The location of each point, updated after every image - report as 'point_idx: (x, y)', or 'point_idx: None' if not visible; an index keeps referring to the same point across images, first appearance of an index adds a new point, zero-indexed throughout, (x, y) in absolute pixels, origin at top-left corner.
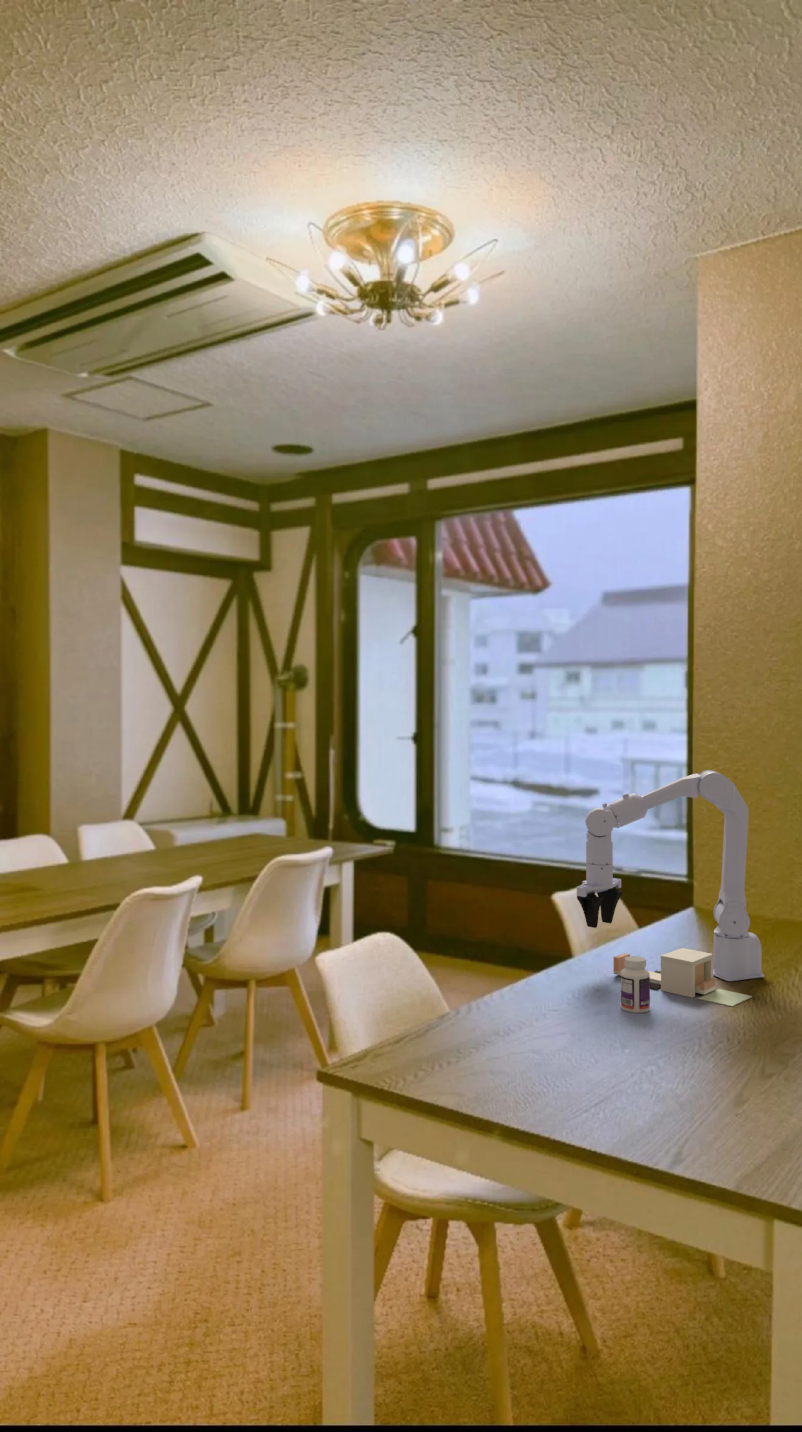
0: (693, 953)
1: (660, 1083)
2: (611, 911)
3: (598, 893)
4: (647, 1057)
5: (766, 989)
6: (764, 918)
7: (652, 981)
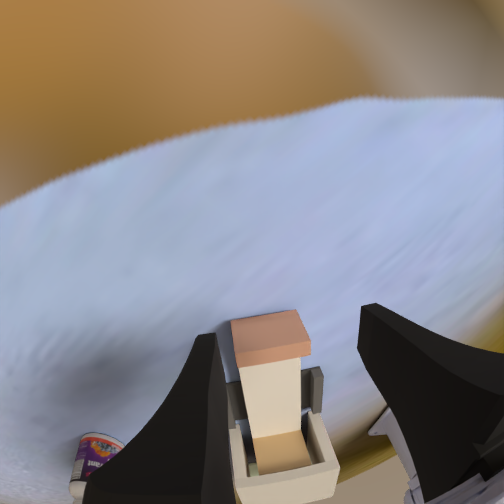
0: (309, 491)
1: (27, 494)
2: (388, 397)
3: (480, 401)
4: (37, 484)
5: (363, 459)
6: None
7: (232, 420)
